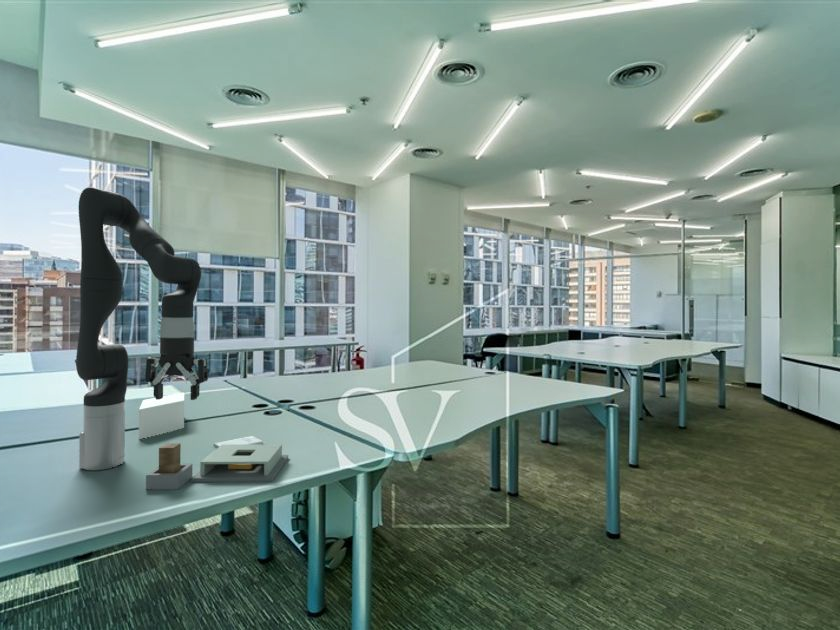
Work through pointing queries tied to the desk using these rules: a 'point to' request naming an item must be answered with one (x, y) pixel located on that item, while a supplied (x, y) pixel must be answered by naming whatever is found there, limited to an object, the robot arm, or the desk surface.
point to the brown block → (169, 458)
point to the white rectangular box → (161, 415)
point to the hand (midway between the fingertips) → (176, 399)
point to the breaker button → (240, 466)
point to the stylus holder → (169, 478)
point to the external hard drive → (241, 441)
